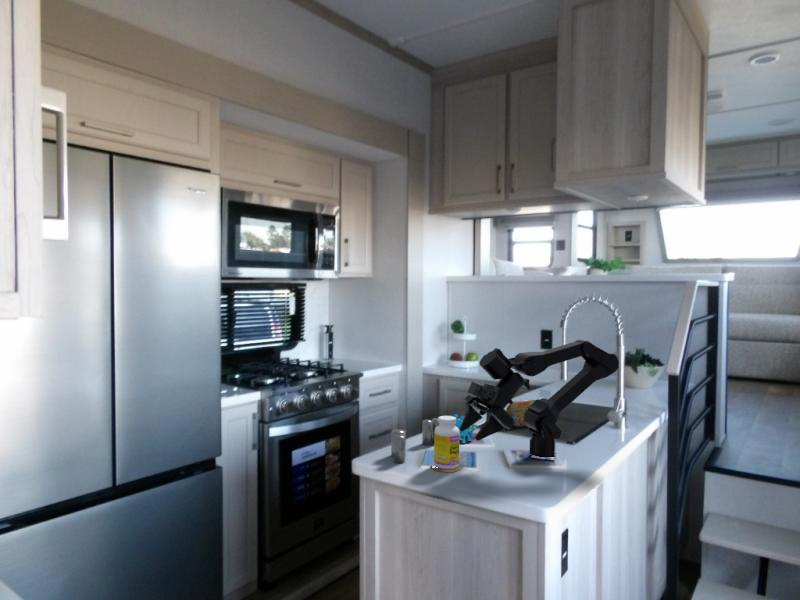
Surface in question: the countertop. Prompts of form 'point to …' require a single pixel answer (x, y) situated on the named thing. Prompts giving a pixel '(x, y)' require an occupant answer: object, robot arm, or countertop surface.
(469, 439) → the gear
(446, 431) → the supplement bottle
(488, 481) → the countertop surface
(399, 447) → the spacers
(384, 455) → the countertop surface
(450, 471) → the cork coaster
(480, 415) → the robot arm
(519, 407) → the orange snack packet
